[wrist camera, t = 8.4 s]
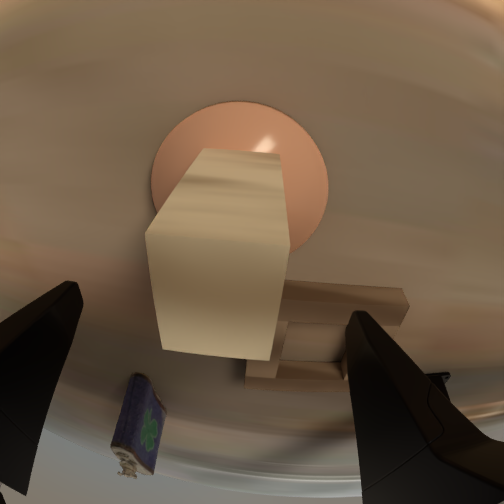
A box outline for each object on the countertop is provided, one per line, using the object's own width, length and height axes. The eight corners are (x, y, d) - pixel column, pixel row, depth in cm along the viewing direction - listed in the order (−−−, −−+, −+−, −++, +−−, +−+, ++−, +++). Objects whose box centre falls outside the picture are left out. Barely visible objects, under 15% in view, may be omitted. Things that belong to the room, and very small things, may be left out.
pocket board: (358, 374, 28) (362, 391, 26) (245, 370, 28) (243, 388, 26) (401, 288, 22) (409, 306, 20) (255, 277, 22) (254, 296, 20)
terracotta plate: (309, 264, 21) (311, 273, 20) (161, 250, 21) (157, 259, 20) (338, 112, 15) (342, 114, 15) (154, 98, 15) (148, 101, 15)
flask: (169, 414, 34) (153, 491, 25) (147, 411, 35) (129, 485, 26) (150, 373, 29) (123, 466, 20) (124, 369, 29) (94, 458, 21)
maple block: (270, 235, 19) (269, 360, 11) (202, 230, 19) (162, 349, 11) (279, 154, 16) (290, 245, 8) (203, 148, 16) (144, 233, 8)
